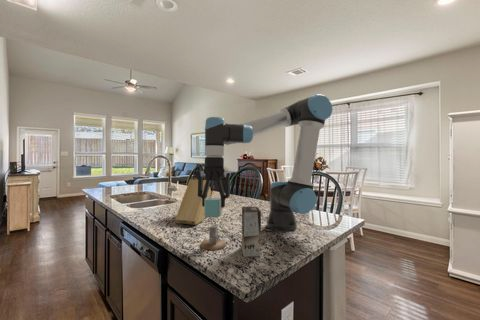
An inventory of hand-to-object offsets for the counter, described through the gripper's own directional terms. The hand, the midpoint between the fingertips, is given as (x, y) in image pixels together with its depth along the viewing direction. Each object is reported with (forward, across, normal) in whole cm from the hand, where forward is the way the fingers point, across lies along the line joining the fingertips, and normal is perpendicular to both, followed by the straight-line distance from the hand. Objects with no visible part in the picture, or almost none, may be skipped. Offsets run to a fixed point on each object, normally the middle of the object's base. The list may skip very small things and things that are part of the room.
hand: (213, 214), depth 92 cm
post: (+12, 0, 0) cm, 12 cm away
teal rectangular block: (0, 0, 0) cm, 0 cm away
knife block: (+12, +21, -39) cm, 46 cm away
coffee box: (+12, -16, +3) cm, 20 cm away
